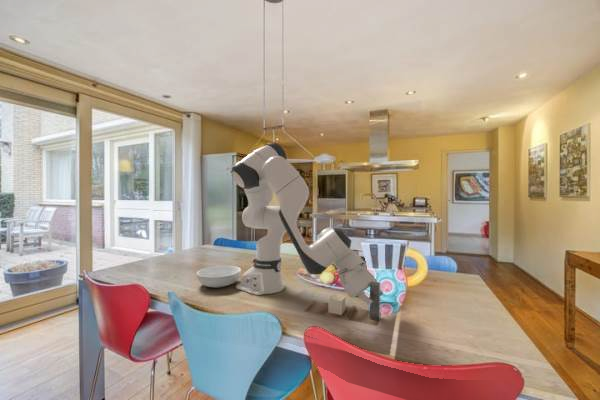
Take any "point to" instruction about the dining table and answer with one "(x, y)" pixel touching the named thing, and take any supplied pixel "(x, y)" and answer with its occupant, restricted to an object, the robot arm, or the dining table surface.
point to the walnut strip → (354, 308)
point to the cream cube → (336, 304)
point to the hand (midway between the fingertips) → (376, 299)
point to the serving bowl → (218, 276)
